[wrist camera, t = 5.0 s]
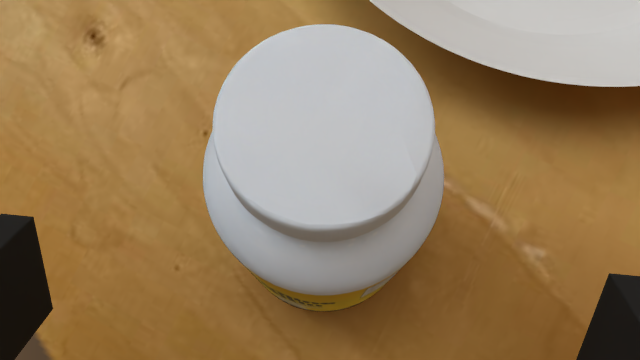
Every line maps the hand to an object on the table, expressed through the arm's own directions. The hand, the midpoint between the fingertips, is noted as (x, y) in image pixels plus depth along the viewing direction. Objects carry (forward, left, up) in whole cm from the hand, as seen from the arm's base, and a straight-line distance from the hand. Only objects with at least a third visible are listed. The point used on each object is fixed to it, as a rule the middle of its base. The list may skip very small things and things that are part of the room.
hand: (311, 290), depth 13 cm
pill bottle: (-1, +3, -9) cm, 10 cm away
